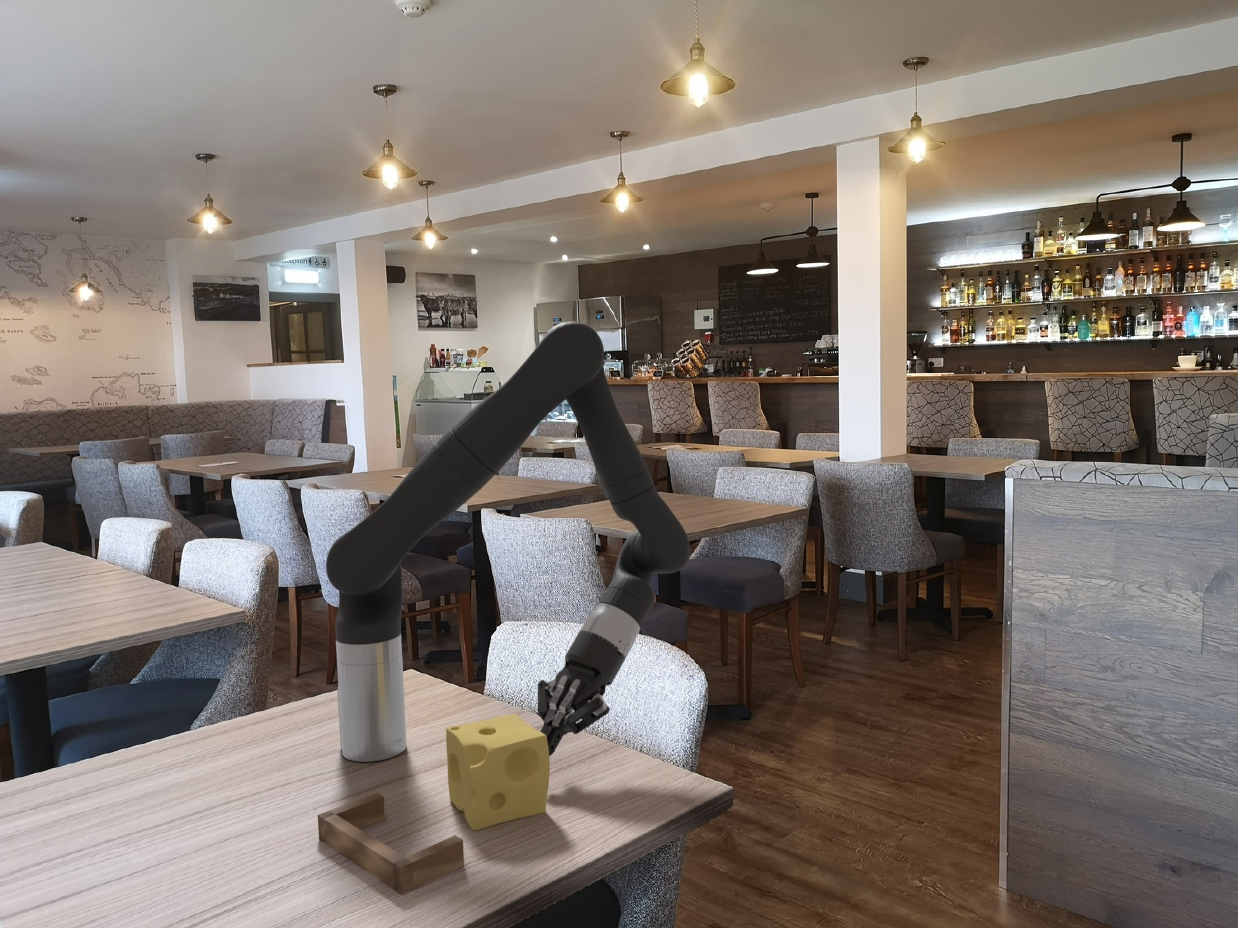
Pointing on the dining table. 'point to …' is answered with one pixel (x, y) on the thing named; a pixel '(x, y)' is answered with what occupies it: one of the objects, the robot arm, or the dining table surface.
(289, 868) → the dining table surface
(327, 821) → the walnut cradle
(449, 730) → the cheese
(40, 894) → the dining table surface
